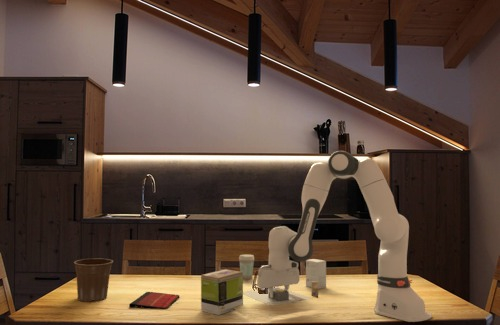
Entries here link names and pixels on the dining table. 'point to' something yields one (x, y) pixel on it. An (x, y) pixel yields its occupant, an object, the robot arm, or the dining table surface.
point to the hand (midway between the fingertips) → (278, 296)
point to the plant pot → (92, 278)
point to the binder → (154, 300)
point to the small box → (316, 272)
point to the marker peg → (314, 289)
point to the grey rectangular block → (280, 294)
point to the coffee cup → (246, 265)
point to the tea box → (221, 291)
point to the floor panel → (265, 299)
